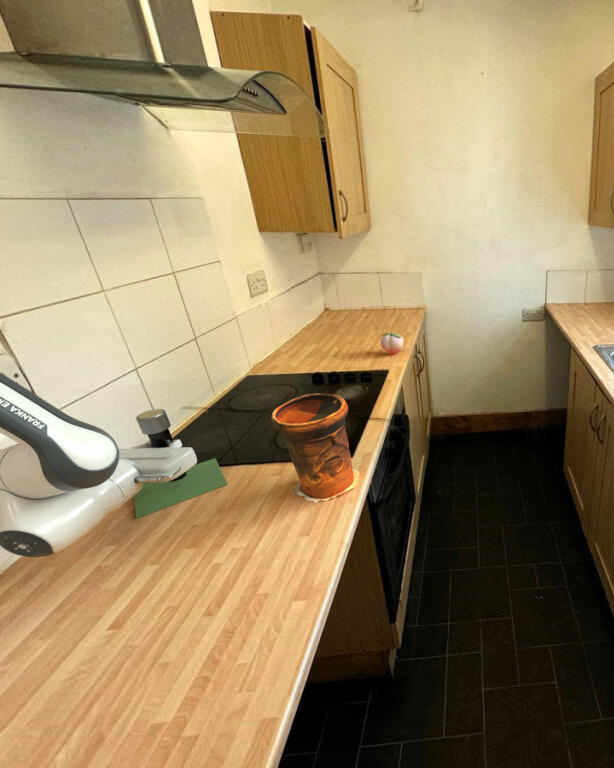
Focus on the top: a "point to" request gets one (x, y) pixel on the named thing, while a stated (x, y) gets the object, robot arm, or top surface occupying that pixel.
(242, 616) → the top surface
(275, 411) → the vessel
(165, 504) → the cloth
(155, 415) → the torch
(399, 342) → the decorative fruit
